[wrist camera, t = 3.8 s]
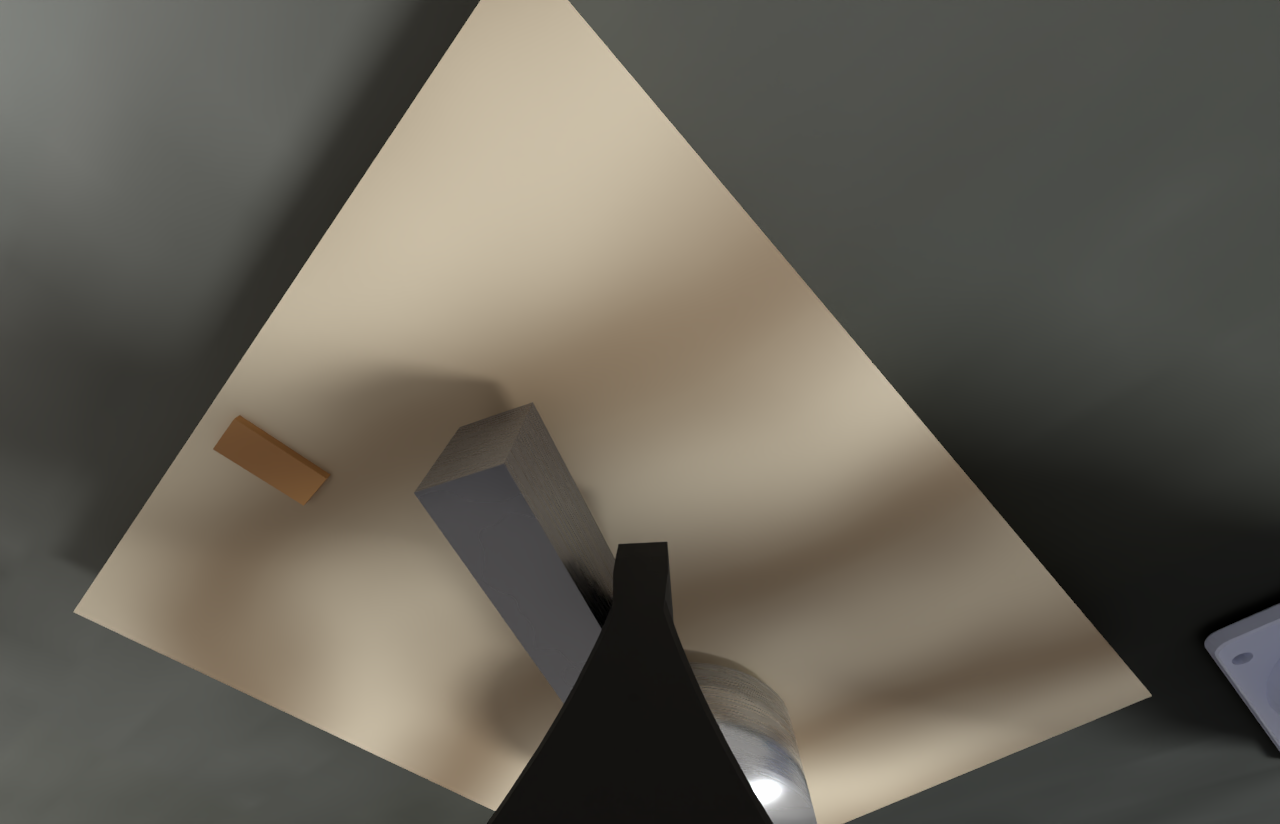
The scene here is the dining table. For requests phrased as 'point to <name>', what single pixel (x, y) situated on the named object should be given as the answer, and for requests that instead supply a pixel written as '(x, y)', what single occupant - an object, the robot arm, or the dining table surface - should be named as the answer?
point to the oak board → (590, 459)
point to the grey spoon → (580, 585)
